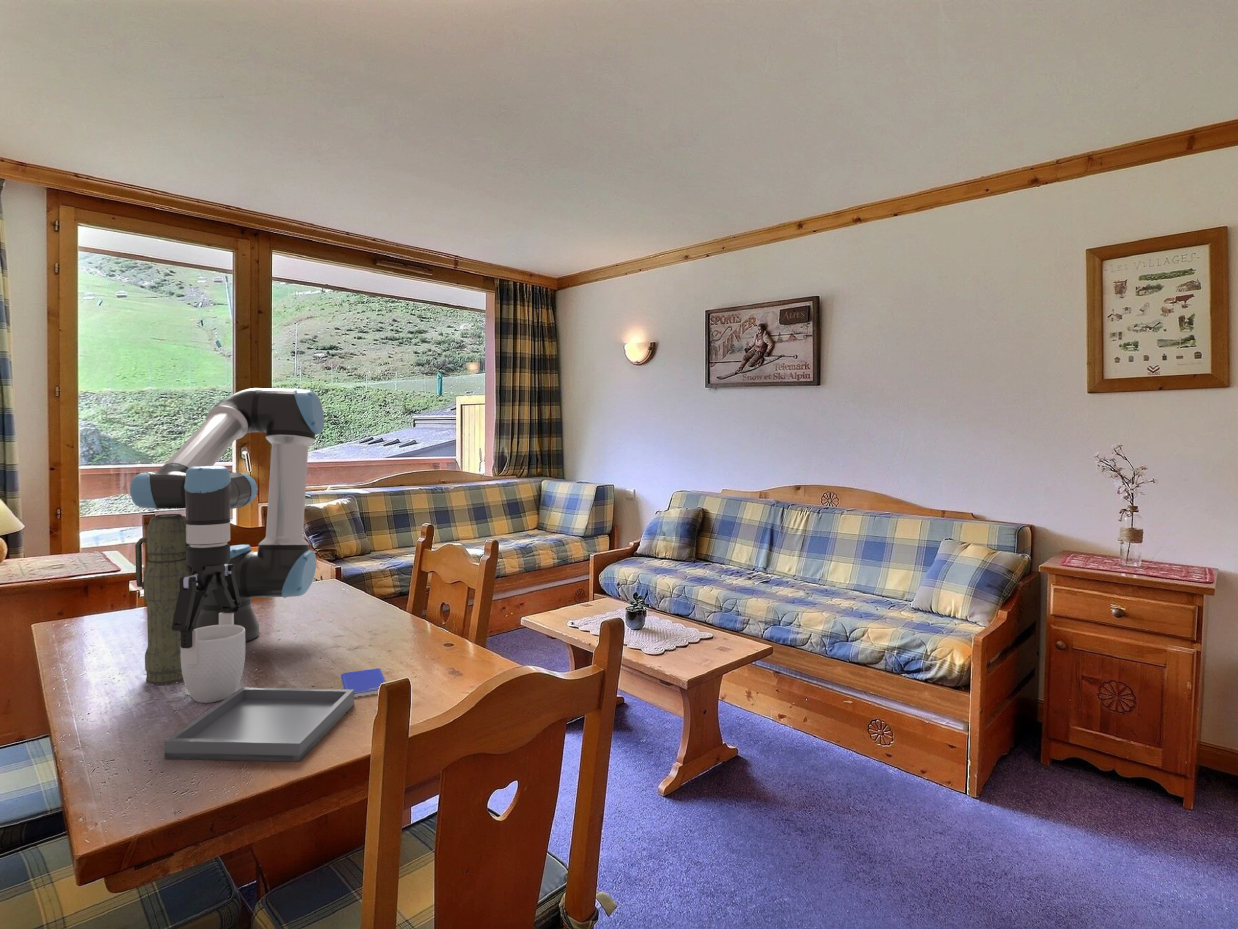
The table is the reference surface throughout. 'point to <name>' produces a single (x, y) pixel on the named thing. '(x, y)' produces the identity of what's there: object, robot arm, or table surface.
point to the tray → (261, 725)
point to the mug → (216, 663)
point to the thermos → (163, 594)
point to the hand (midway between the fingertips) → (209, 653)
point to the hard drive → (363, 681)
